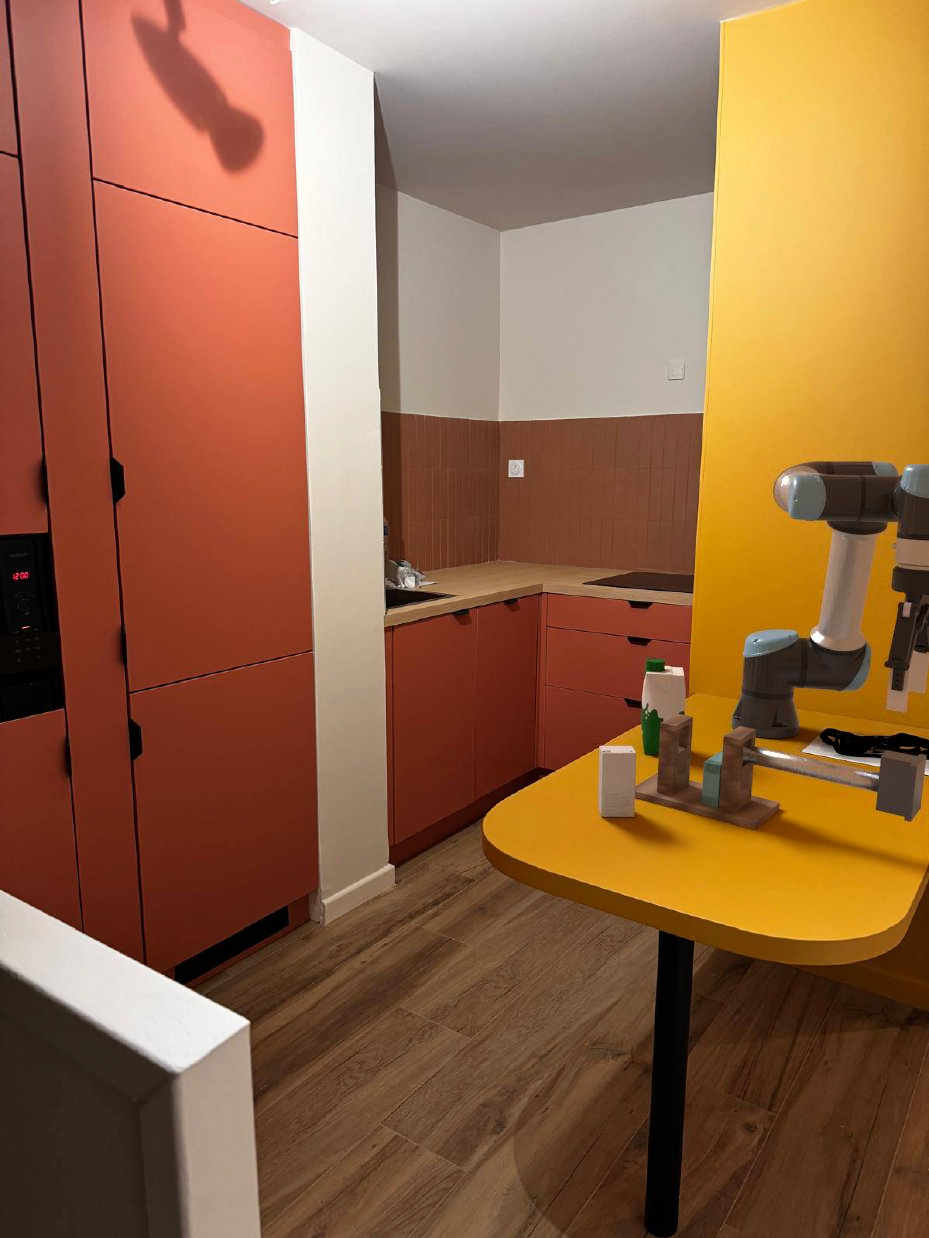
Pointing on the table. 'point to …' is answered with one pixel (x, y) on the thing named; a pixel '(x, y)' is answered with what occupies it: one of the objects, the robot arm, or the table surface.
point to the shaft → (857, 776)
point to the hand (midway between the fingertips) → (906, 700)
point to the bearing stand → (687, 794)
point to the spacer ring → (712, 781)
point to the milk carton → (660, 700)
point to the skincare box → (617, 781)
